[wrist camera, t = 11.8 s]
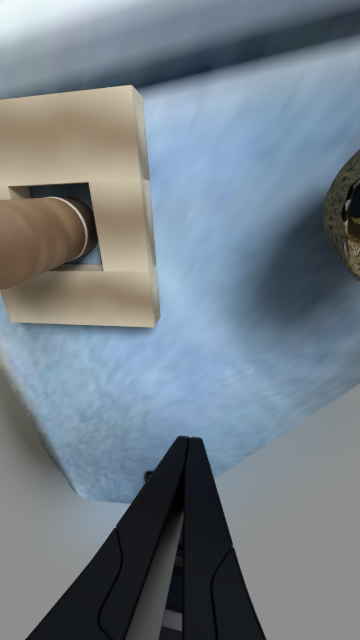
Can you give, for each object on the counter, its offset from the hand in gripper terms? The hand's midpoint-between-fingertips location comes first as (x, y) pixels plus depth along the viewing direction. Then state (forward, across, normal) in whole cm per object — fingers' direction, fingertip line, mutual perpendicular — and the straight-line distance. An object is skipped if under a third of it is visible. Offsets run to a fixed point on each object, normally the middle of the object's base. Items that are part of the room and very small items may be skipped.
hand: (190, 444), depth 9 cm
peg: (+12, +10, -6) cm, 17 cm away
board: (+12, +10, -6) cm, 17 cm away
